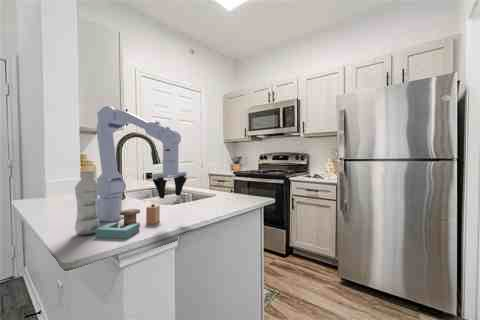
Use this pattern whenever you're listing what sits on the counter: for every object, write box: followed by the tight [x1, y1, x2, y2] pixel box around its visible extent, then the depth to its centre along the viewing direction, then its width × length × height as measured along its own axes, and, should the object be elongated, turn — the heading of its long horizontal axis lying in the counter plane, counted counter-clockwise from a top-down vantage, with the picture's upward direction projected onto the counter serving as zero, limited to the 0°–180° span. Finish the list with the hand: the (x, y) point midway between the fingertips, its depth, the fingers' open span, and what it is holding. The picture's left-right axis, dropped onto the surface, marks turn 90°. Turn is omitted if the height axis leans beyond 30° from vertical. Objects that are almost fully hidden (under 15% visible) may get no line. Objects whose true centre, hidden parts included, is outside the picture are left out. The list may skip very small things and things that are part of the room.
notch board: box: [95, 222, 140, 239], centre depth 71 cm, size 10×7×2 cm
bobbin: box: [119, 208, 141, 228], centre depth 78 cm, size 6×6×6 cm
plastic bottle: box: [74, 171, 101, 236], centre depth 71 cm, size 6×7×20 cm
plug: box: [145, 203, 161, 224], centre depth 84 cm, size 4×4×7 cm
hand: (170, 196), depth 85 cm, fingers open, 7 cm apart
